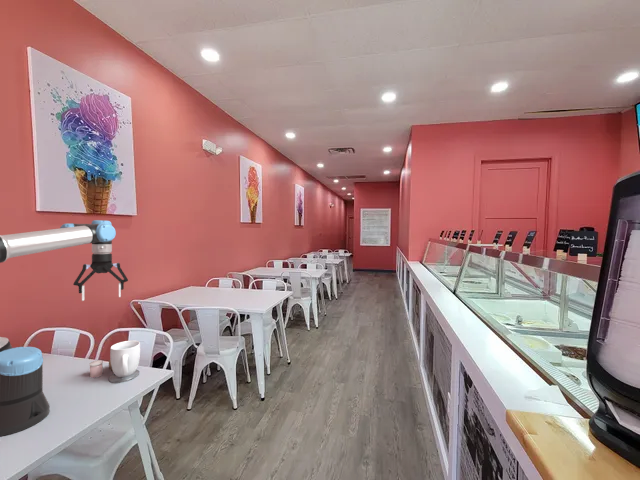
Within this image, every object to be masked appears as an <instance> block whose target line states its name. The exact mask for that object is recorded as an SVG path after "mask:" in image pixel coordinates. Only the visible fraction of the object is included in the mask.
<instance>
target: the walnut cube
mask: <svg viewBox="0 0 640 480" xmlns="http://www.w3.org/2000/svg"><path fill="white" fill-rule="evenodd" d="M108 369H109V370H110V371H111V372H113V370H112V366H111V359H110V360H108Z"/></svg>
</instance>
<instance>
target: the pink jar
mask: <svg viewBox="0 0 640 480" xmlns="http://www.w3.org/2000/svg"><path fill="white" fill-rule="evenodd" d="M103 362H104V361H103V360H101V359H99V360H98V359H97V360H94V361H91V362H90V363H89V378H90V377H91V379H95V377H96V378H98V377H101V376H103Z"/></svg>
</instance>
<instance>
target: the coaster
mask: <svg viewBox="0 0 640 480" xmlns="http://www.w3.org/2000/svg"><path fill="white" fill-rule="evenodd" d="M139 376H140V371H139V370H138V369H136V371H135V372H134V373H133V374H132V375H130V376H126V377H117V376H116V375H115V374H114V373H113V374H112V375H110V376H109V379H108V381H109V382H110V383H111V384H112V383H113V384H120V383H124V382H125V383H126V382H129V381H132V380H134V379H135V378H137V377H139Z"/></svg>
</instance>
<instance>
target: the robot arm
mask: <svg viewBox="0 0 640 480" xmlns="http://www.w3.org/2000/svg"><path fill="white" fill-rule="evenodd" d="M116 234H117V232H116V229H115V227H114V226H113V225H112V222H111V221H110V220H100V219H95V220H92V221H91V223H63V224H61V226H60V228H54V229H53V228H51V229H46V230H45V229H44V230H37V231H35V230H34V231H28V232H20V233H12V234H11V233H9V234H0V264H1V263H5V262H7V260H8V259H11V258H15V257H22V256H27V255H32V254H38V253H44V252H50V251H54V250H61V249H65V248H71V247H77V246H82V245H88V244H91V253H92V254H91V264H86V263H84V264H83V265H82V269H81V271H80V272H79V274H78V276H77V277H76V279H75V280H74V282H73V286H76V287H78V294H81V302H84V301H85V283H87V282H88V281H89V280H90V278H91V277H93V275H94V274H107V273H109V274H111V275H112V276H113V277H114V278H115V279H116V280H117V281H118V298H122V297H121V296H122V293H121V292H122V291H121V290H124V289H125V288H124V287H125V286H124V285H125V283H126V282H128V281H129V279H128V278H127V275H126V274H125V272H124V270H123V269H122V268H121V263H120V262H117V263H113V254H112V252H113V243H112V242H113V239H115V237H116ZM113 267H114V268H116V269H117V270H118V272H119V273H120V275H121V277H122V278H121V277H120V276H119V275H117V274H116V273H115V272H114V270H112V268H113ZM89 268H91V269H92V270H91V272H90V273H88V274H87V275H86V277H84V278H83V280H81V279H82V277H83V275H84V273H85V272H86V271H87V270H88V269H89ZM80 280H81V281H80ZM43 364H44V358H43V352H42V350H41V349H39V348H37V347H35V346H26V347H25V346H19V347H18V346H17V347H13V346H12V343H11V341H10V340H9V338H8V337H5V336H4V337H3V336H0V437H2V436H3V437H4V436H7V435H12V434H15V433H18V432H21V431H23V430H26V429H28V428H31V427H33V426H35V425H37V424H38V423H40V422H42V421H43V420H44V419H45V418H47V416H49V414H50V412H51V411H50V403H49V401H48V399H47V398H46V396H45V393H44V392H43V390H44V389H43V387H44V386H43V379H44V378H43V376H44V374H43V373H44V371H43V370H44V369H43V368H44V366H43Z"/></svg>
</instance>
